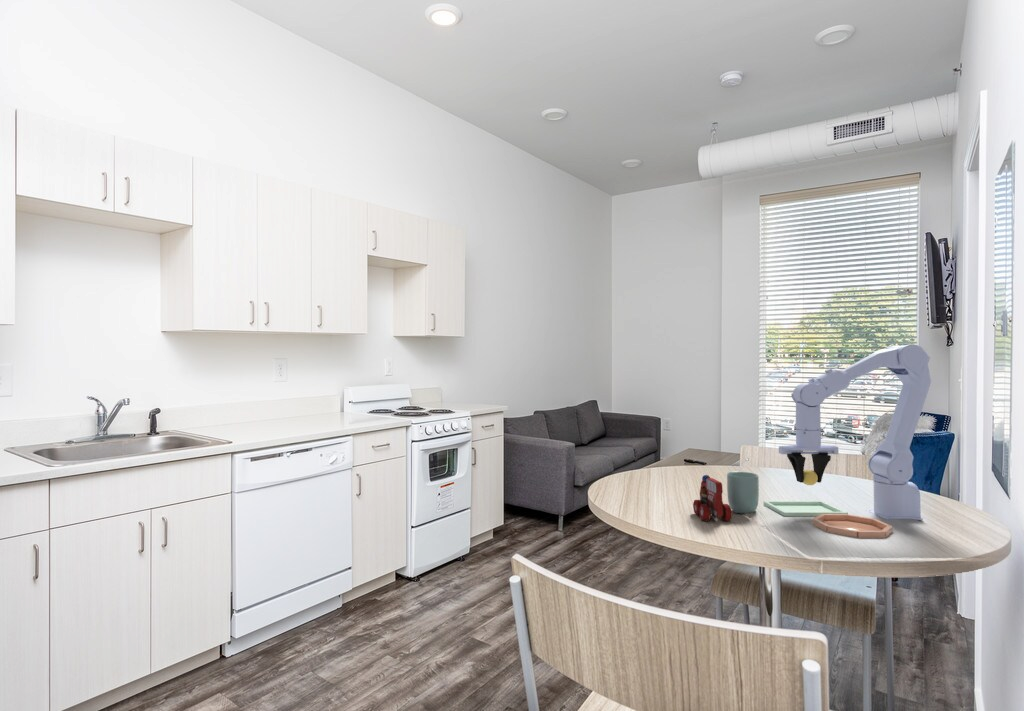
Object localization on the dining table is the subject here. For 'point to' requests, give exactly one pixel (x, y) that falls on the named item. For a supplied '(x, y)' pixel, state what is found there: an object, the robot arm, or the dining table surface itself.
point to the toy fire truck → (711, 501)
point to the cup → (743, 491)
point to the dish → (853, 525)
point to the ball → (810, 477)
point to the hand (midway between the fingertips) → (808, 481)
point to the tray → (803, 508)
